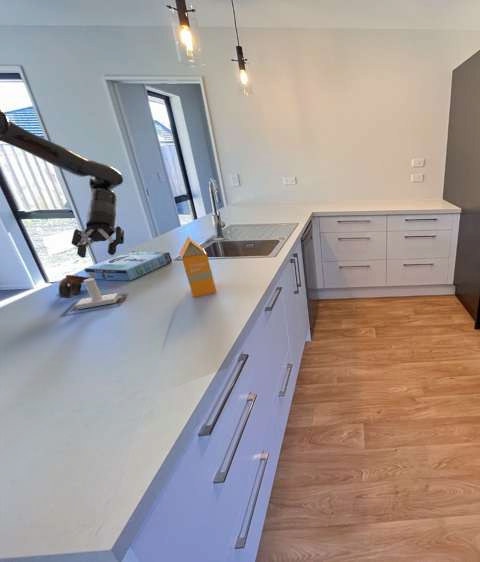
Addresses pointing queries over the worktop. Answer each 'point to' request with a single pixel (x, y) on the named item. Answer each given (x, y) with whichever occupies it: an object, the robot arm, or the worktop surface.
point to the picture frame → (117, 303)
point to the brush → (96, 297)
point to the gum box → (128, 265)
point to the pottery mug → (71, 285)
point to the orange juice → (197, 268)
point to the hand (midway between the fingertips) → (96, 255)
